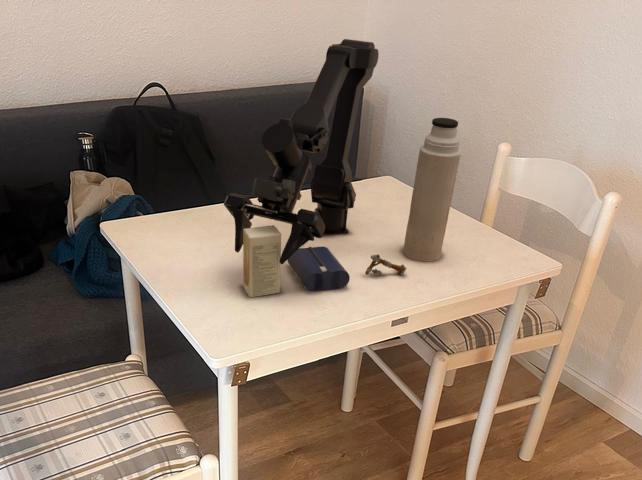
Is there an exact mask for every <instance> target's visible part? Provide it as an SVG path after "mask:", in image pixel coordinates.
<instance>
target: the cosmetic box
mask: <svg viewBox="0 0 642 480" xmlns="http://www.w3.org/2000/svg"><path fill="white" fill-rule="evenodd" d="M242 250H243V251H242V254H243V257H242V258H243V262H242V265H243V266H242V267H243V268H242V269H243V275H242V276H243V277H242V278H243V285H242V286H243V289H244V291H245V293H246V294H247V296H248V298H253V297H261V296H267V295H274V294H279V293H280V292H281V265H282V264H281V263H280V258H281V255H282V233H281V231H279V229H278V228H277V227H276V226H275V224H273V225H263V226H255V227H251V228H246V229H243V246H242Z"/></svg>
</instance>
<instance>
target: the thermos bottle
mask: <svg viewBox="0 0 642 480" xmlns="http://www.w3.org/2000/svg"><path fill="white" fill-rule="evenodd" d="M431 124H432V126H431V130H430V133H428V134H426V135H425V138H424V140H423V145H421V146H420V147H419V152H418V157H417V163H416V170H415V176H414V181H413V182H414V183H413V188H412V194H411V199H410V207H409V215H408V220H407V224H406V231H405V237H404V243H403V249H402V252H403V255H404V256H405V257H407V258H409V259H412V260H414V261H417V262H435V261H437V260H439V259H440V258H441V256H442V255H441V254H442V250H443V245H444V239H445V236H446V230H447V225H448V219H449V215H450V210H451V203H452V200H453V196H454V195H453V194H454V190H455V185H456V181H457V175H458V170H459V165H460V160H461V156H462V151H461V149H460V148H459V147H460V145H461V144H460V141H461V140H460V138H459V137H458V136H457V133H458V127H459V121H458V120H456V119H453V118H449V117H435V118H433V119H432V120H431Z"/></svg>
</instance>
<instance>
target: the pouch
mask: <svg viewBox="0 0 642 480" xmlns="http://www.w3.org/2000/svg"><path fill="white" fill-rule="evenodd" d="M286 262H287V263H288V265H289V266H290V268H291V269H292V271H293V272H294V274H295V275H296V276H297V278H298V280H299V281H300V283H301V284H302V285H303V287H304V289H305V290H306V291H308V292H309V293H310V292H311V293H315V292H324V291H333V290H334V291H335V290H342V289H344V288H345V287H347V285H348V284H349V283H350V277H351V276H350V274H349V272H348V271H347V269H345V268H344V266H343V265H342V264H341V262H340V261H339V260H338V258H337V257H336V256H335V255H334V254H333V253H332V251H331V250H330V249H329V248H328V247H326V246H323V245H322V246H313V247H312V246H308V247H300V248H299V249H298V250H297V251H296V252H295V253H294V254H293V255H292V256H291V257H290V258H289V259H288V260H287V261H286Z"/></svg>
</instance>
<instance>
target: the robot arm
mask: <svg viewBox="0 0 642 480" xmlns="http://www.w3.org/2000/svg"><path fill="white" fill-rule="evenodd" d="M379 54H380V53H379V50H378V48H376V46H375V42H373V41H366V40H365V41H364V40H357V39H351V38H350V39H349V38H344V39H342V41H341V42H340V43H332V44H331V45H329V46H328V48H327V50H326V54H325V61H324V63H323V65H322V67H321V70H320V71H319V73H318V76H317V78H316V80H315V83H314V84H313V86H312V89H311V91H310V93H309V96H308V98H307V100H306V101H305V103H304V104H303V105H301V106H299V107H298V108H297V109H295V110H294V111H293V113H292V115H291V116H290V118H283V117H280V119H279V121H278V123H274V124H272V125H270V126H269V127H267V129H266V130H265V131H263V134H262V137H261V143H262V147H263V148H264V150H265V152H266V154H267V155H268V158H270V160H271V162H272V164H273V165H274V166H275V167H276V168H275V170H274V173H273V175H269V177H268V178H267V179H263V178H258V177H255V178H254V183H253V187H252V192H251V196H252V197H256V198H257V201H258V203H259V204H261V205H259V204H254V203H253V202H252V200H251V199H250V198H249V196H247V195H243V194H238V193H234V192H231V193H229V194H228V195H227V196H226V197H225V199H224V202H223V206H224V207H225V209H226V210H227V211H228V213H229V214H230V215H231V216H232V217H233V219H234V228H235V229H234V230H235V231H234V251H235V252H236V253H237V254H238V253H240V251H241V249H243V229H246V228H252V225H253V223H252V222H251V220H253V219H254V218H255V216H256V217H260V218H264V219H268V220H273V221H277V222H281V223H285V224H288V225H289V224H290V225H291V229H290V234H289V236H288V239H287V240H286V243H285V245H284V248H283V250H282V251H281V258H280V263H281V264H280V265H284V264H285V263H286V262H288V261H287V260H288V259H289V258H290V257H291V256H292V255H293V254H294V253H295V252H296V251H297V250H298V249H299V248H302V247H303V246H304V245H305V244H307V243H308V242H309V241H310V242H314V240H315V238H317V239H323V236H330V235H342V234H349V229H348V228H347V221H348V212H349V209H354V207H355V202H356V197H357V193H356V191H355V187H354V186H353V183H352V179H353V172H352V170H351V166H350V164H349V161H348V160H349V155H350V149H351V144H352V139H353V135H354V130H355V125H356V121H357V120H356V119H357V114H358V109H359V104H360V99H361V94H362V90H363V88H364V87H365V86H366V85H367V84H368V82H369V81H370V80H371V79H372V78H373V73H374V70H375V68H377V67H376V66H377V65H378V62H379ZM334 104H335V105H334ZM333 106H334V111H333V116H332V120H331V127H330V128H329V123H328V122H329V121H328V119H329V116H330V113H331V111H332V109H333ZM329 132H330V133H329ZM326 145H327V148H326V154H325V157H324V158H323V159H322V160H321V162H320V163H317V164H316V165H315V167H314V174H313V176H312V179H311V182H310V194H311V203H313V204H317V205H316V208H315V209H314V210H309V209H305V208H301V209H298V211H297V213H294V209H295V207H296V204H297V201H300V200H301V199H302V194H301V190H302V189H303V185H304V183H305V180H306V178H307V175H308V173H311V172H312V170H313V169H312V167H313V166H312V161H311V159H310V157H309V156H308V154H307V153H312V154H313V153H314V154H317V153H320V152H321V151H322V150H323V149H324V148H325V147H326ZM306 152H307V153H306Z"/></svg>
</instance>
